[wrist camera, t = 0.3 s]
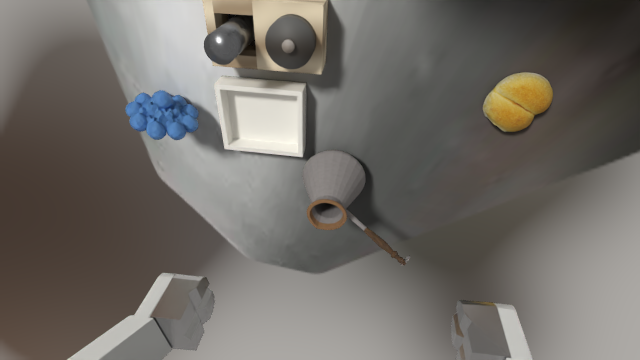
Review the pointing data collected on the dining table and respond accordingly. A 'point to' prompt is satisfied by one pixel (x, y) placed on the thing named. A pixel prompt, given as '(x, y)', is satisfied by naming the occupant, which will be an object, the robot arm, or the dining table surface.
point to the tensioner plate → (263, 25)
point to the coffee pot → (337, 193)
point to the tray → (262, 115)
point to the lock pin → (230, 39)
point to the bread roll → (517, 101)
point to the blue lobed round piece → (162, 115)
